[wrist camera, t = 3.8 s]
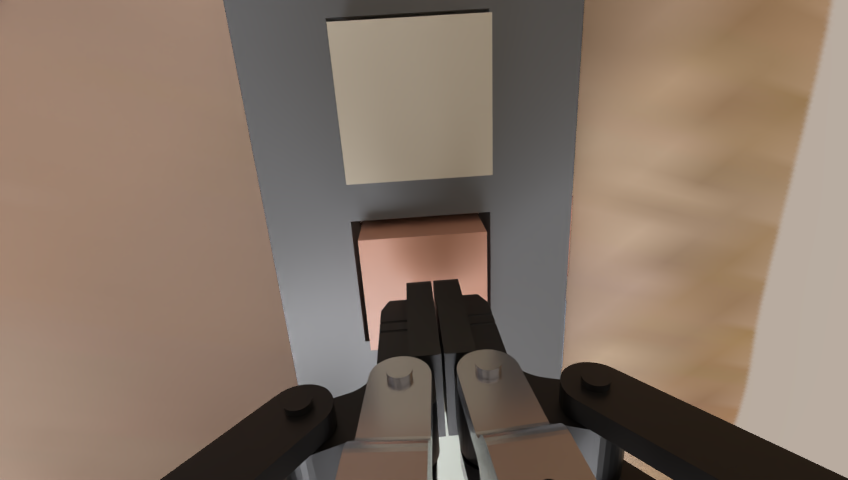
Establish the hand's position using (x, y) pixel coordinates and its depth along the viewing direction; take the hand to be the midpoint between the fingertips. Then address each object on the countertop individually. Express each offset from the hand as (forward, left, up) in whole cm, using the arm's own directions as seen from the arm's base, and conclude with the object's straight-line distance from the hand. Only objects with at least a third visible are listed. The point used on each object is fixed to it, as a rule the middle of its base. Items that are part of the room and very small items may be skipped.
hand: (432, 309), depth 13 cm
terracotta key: (0, 0, -5) cm, 5 cm away
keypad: (+3, 0, -5) cm, 6 cm away
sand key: (-6, 0, -4) cm, 7 cm away
